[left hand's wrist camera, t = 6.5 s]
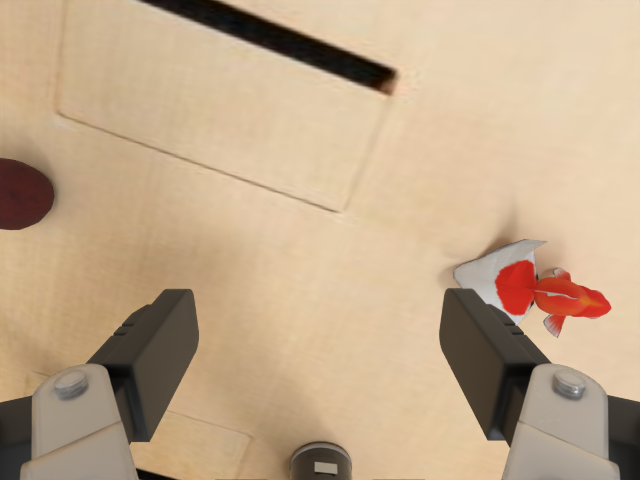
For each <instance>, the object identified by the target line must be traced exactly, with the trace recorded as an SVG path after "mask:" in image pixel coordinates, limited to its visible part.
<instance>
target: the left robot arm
mask: <svg viewBox="0 0 640 480" xmlns="http://www.w3.org/2000/svg"><path fill="white" fill-rule="evenodd" d="M439 339H440V345H441V349H442V351H443V353H444V355H445V357H446V359H447V361H448V363H449V365H450V367H451V369H452V371H453V373H454V375H455V377H456V379H457V381H458V383H459V385H460V387H461V389H462V391H463V393H464V395H465V397H466V399H467V401H468V403H469V405H470V407H471V409H472V410H473V412H474V414H475V416H476V418H477V420H478V422H479V424H480V426H481V428H482V430H483V432H484V434H485V436H486V438H487V440H506V442H507V444H508V445H509V447H510V451H509V454H508V458H507V462H506V465H505V469H504V472H503V476H502V479H501V480H640V402H637V401H633V400H628V399H623V398H619V397H614V396H609V395H607V394H606V392H605V391H604V389H603V388H602V387H601V386H600V385H599V384H598V383H597V382H596V381H595V380H593V379H592V378H591V377H589V376H587V375H586V374H584V373H582V372H580V371H578V370H575V369H573V368H570V367H567V366H563V365H559V364H552V363H551V362H550V361H549V360H548V358H547V357H546V356H545V355H544V354H543V353H542V352H541V351H540V350H539V349H538V348H537V346H536V345H535V344H534V343H533V342H532V341H531V340H530V339H529V338H528V337H527V336H526V335H524V332H523V331H522V330H521V329H520V328H519V327H518V326H516V324H515V322H514V321H513V320H512V319H511V318H510V317H509V316H508V315H507V314H506V313H505V312H503V311H502V310H500V309H498V308H497V307H495V306H493V305H492V304H486V303H485V302H484V301H483V300H482V298H481V297H480V296H479V295H478V294H477V293H476V291H475V290H474V289H472V288H448V289H447V290H446V291H445V295H444V301H443V308H442V316H441V323H440V330H439ZM198 341H199V330H198V322H197V315H196V308H195V301H194V295H193V292H192V290H191V289H165V290H164V291H163V292H162V293H161V294H160V295H159V296H158V298H157V299H156V300H155V301H154V302H153V303H152V304H151V305H145V306H144V307H142V308H140V309H139V310H137V311H135V312H134V313H132V314H131V315H130V316H129V317H128V318H127V319H126V321H125V322H124V323H123V324H122V327H119V328H118V329H117V330H116V331H115V332H114V335H113V336H111V337H110V338H109V339H108V340H107V341H106V342H105V343H104V344H103V345H102V347H101V348H100V349H99V350H98V351H97V352H96V353H95V354H94V355H93V356H92V357H91V358H90V359H89V361H88V362H87V363H86V364H81V365H77V366H73V367H70V368H67V369H65V370H62V371H60V372H58V373H56V374H54V375H53V376H51V377H49V378H48V379H47V380H45V381H44V382H43V383H42V384H41V385H40V386H39V387H38V388H37V389H36V391H35V392H34V394H33V395H32V396H28V397H24V398H19V399H15V400H10V401H5V402H1V403H0V480H139V479H138V476H137V472H136V469H135V465H134V462H133V458H132V454H131V451H130V447H129V445H130V443H131V442H150V440H151V438H152V436H153V434H154V432H155V430H156V428H157V426H158V424H159V422H160V420H161V419H162V417H163V415H164V413H165V411H166V409H167V407H168V405H169V403H170V401H171V399H172V397H173V395H174V393H175V391H176V389H177V387H178V385H179V383H180V382H181V380H182V378H183V376H184V374H185V372H186V370H187V368H188V366H189V364H190V362H191V360H192V358H193V356H194V354H195V352H196V350H197V347H198ZM290 480H352V463H351V459H350V457H349V455H348V454H347V452H346V451H344V450H343V449H342V448H340V447H338V446H336V445H334V444H330V443H312V444H308V445H306V446H303V447H302V448H300V449H299V450H297V451H296V452H295V453H294V455H293V456H292V458H291V462H290Z"/></svg>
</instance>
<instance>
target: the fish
mask: <svg viewBox="0 0 640 480" xmlns="http://www.w3.org/2000/svg"><path fill="white" fill-rule="evenodd" d="M544 243H547V242H545V241H535V240H525V239H524V240H521V241H518V242H515V243H512V244H509V245H505V246H502V247H500V248H498V249H496V250H494V251H492V252H491V253H489V254H487V255H485V256H483V257H481V258H479V259H477V260H473V261H470V262H467V263H465V264H462V265H460V266H459V267H457V268H456V269H454V274H453V278H454V279H455V281H456V282H457V283H458V284H459V285H460V286H461V287H462V288H472V289H474V290H475V291H476V293H477V294H478V295H479V296H480V297H481V298H482V300H483V301H484V302H485V303H486V304H492V305H493V306H495V307H497V308H498V309H500V310H502V311H503V312H505V313H506V314H507V315H508V316H509V317H510V318H511V319H512V320H513V321H514V322H515V324H516V325H517V324H518V323H519V322H520V321H521V320H522V319H523V317H524V316H525V315H526V313H527V312H528V311H529V309H530V308H531V306H532V305H533V304H534V300H535V302H536V304H537V306H538V307H539V308H540V309H541V310H543V311H545V312H547V313H549V314H550V315H549V316H548V317H547V318H545V320H544V325H545V326H546V328H547V330H548V331H549V332H550V333H551V334H553V335H554V336H555V337H557V338H558V336H559V334H560V331H561V329H562V325H563V323H564V320H565V318H566V316H568V315H571V316H573V317H587V318H590V319H597V318H599V317H600V316H602V315H604V314H607V313H608V312H609V311H610V310H611V306H610V303H609V302H608V301H607V300H606V299H605V297H604V296H603V294H602V293H601V292H599V291H597V290H590V289H588V288H586V287H584V286H580V285H577V284H575V283H573V282H571V277H570V274H569V273H568V272H566V271H565V270H563V269H562V268H557V269H555V270H554V271H553V274H554V275H555V277H548V278H544V279H542V280H540V281H539V282H538V275H537V271H536V267H535V256H534V250H535V249H536V248H537V247H539V246H541V245H542V244H544ZM537 282H538V283H537Z"/></svg>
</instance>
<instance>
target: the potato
mask: <svg viewBox="0 0 640 480" xmlns="http://www.w3.org/2000/svg"><path fill="white" fill-rule="evenodd" d="M53 200H54V191H53V187H52V185H51V184H50V182H49V180H48V179H47V178H46V177H45V176H44V175H43V174H42V173H40V172H39V171H38V170H36V169H34V168H32V167H30V166H28V165H26V164H24V163H22V162H19V161H16V160H11V159H4V158H0V229H5V230H21V229H23V228H26V227H29V226H31V225H33V224H36V223H38V222H39V221H40V220H41V219H42V218H43V217H44V216H45V215H46V214H47V213H48V212H49V210H50V209H51V207H52V204H53Z"/></svg>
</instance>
